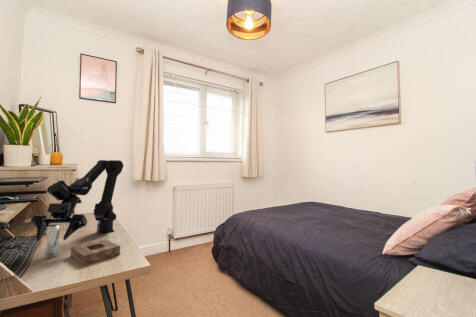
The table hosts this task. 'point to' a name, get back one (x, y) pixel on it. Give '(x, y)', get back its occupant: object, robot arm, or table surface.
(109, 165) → the robot arm
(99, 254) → the socket block
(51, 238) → the translucent grey tall block
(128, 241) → the table surface
